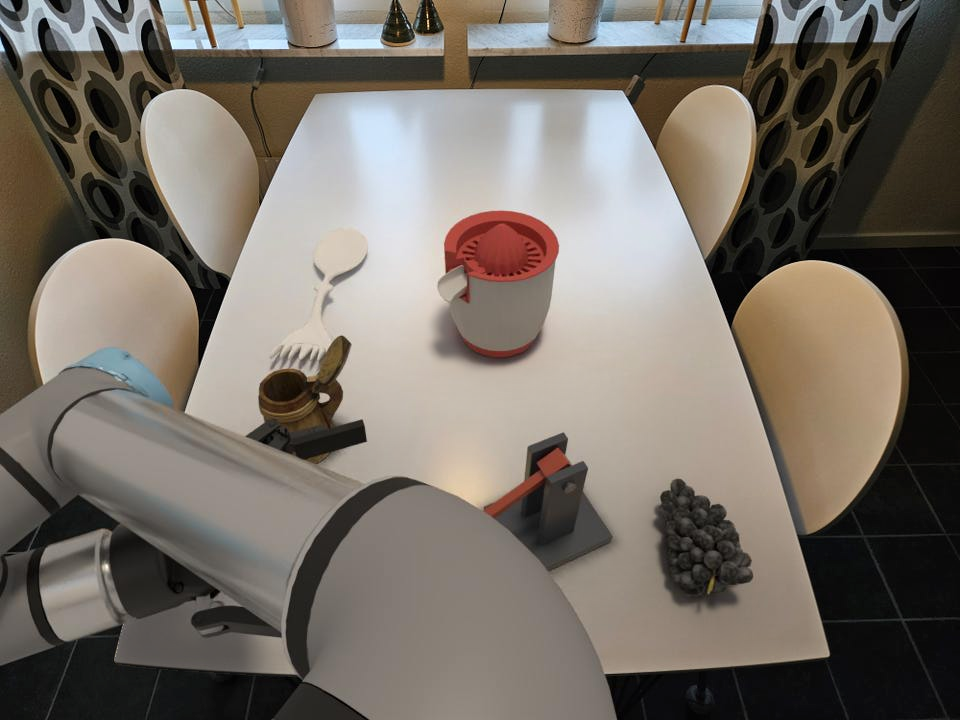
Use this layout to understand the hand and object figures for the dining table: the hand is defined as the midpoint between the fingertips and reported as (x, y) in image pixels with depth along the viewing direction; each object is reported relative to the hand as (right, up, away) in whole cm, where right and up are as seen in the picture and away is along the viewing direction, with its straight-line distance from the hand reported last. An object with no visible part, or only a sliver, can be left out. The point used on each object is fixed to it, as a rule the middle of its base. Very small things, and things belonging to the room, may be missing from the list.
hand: (385, 491), depth 56 cm
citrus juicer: (+10, +15, +43) cm, 47 cm away
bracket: (+16, -9, +21) cm, 28 cm away
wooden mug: (-13, +1, +30) cm, 32 cm away
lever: (+12, -4, +13) cm, 18 cm away
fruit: (+33, -11, +19) cm, 40 cm away
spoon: (-16, +21, +49) cm, 55 cm away
